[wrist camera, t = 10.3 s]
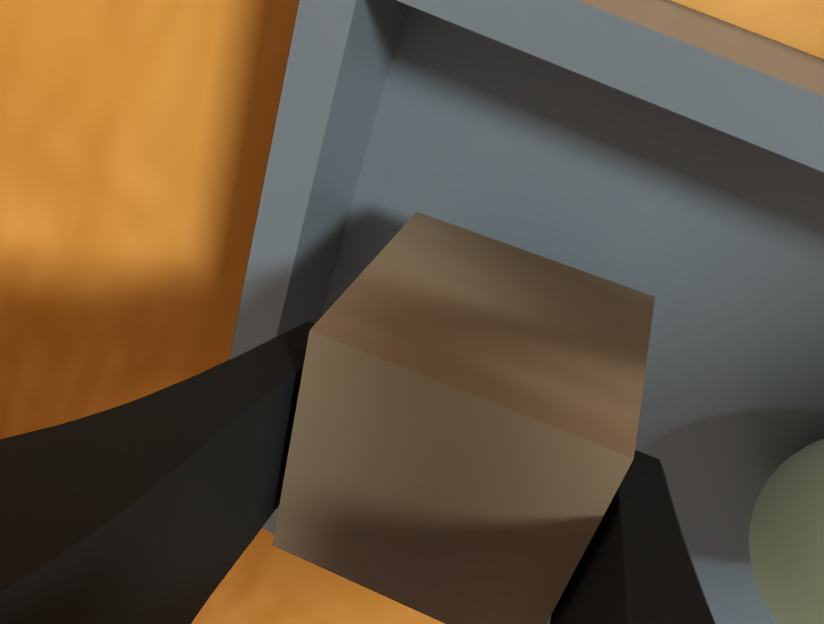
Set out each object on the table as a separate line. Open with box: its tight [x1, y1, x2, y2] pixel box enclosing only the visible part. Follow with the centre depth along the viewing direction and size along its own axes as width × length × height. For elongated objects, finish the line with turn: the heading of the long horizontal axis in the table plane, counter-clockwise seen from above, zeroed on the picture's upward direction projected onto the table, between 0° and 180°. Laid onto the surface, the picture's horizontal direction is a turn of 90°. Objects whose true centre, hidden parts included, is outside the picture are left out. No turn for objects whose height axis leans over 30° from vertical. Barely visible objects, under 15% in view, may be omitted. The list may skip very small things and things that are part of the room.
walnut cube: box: [272, 212, 655, 624], centre depth 11 cm, size 4×4×4 cm
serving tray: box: [229, 0, 824, 624], centre depth 13 cm, size 16×12×3 cm
